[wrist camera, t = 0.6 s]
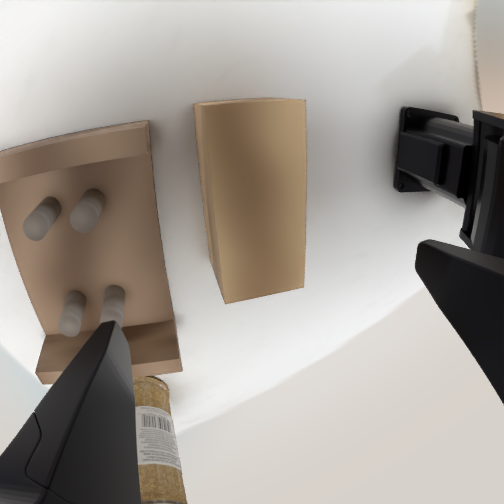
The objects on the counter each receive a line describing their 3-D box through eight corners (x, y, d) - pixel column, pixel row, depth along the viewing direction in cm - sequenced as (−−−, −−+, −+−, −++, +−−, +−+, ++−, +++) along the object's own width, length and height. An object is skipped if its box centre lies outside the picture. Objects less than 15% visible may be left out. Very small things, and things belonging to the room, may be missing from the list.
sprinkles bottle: (108, 390, 24) (114, 535, 13) (141, 366, 24) (158, 525, 12) (147, 411, 26) (166, 543, 15) (180, 389, 26) (211, 531, 15)
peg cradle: (148, 120, 16) (144, 127, 12) (176, 327, 23) (182, 371, 19) (-7, 153, 14) (-43, 171, 10) (53, 341, 20) (42, 384, 17)
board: (269, 97, 17) (305, 100, 13) (274, 247, 22) (303, 287, 18) (192, 103, 16) (204, 105, 12) (209, 259, 21) (225, 304, 17)
